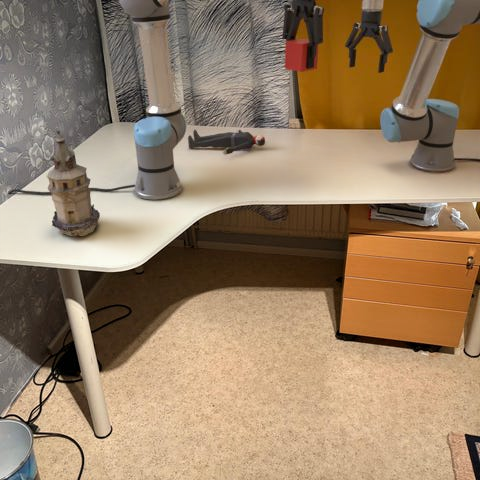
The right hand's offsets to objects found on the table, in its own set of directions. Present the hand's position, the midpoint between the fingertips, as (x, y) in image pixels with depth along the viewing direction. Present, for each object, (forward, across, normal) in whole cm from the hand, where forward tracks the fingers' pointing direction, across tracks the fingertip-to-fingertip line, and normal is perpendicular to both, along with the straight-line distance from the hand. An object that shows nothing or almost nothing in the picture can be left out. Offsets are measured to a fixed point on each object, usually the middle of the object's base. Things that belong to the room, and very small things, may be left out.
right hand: (366, 69), depth 207 cm
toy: (+28, +30, +46) cm, 61 cm away
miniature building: (+28, +9, +122) cm, 126 cm away
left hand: (-11, -12, +52) cm, 54 cm away
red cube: (-10, -12, +52) cm, 54 cm away
